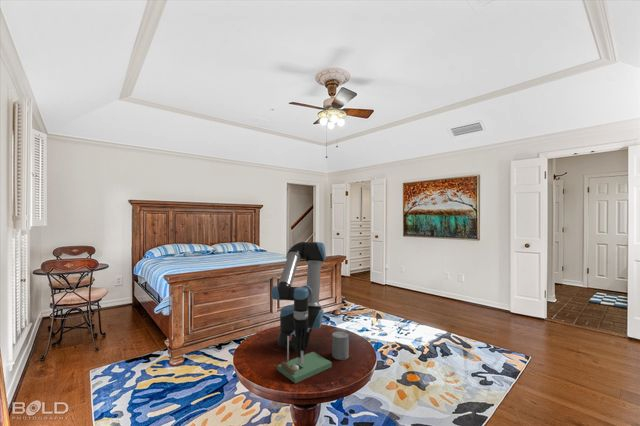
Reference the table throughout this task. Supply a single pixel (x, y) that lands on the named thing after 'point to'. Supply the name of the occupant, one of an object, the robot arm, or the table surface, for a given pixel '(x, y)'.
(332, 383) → the table surface
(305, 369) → the green
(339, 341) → the grey can
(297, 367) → the ball
